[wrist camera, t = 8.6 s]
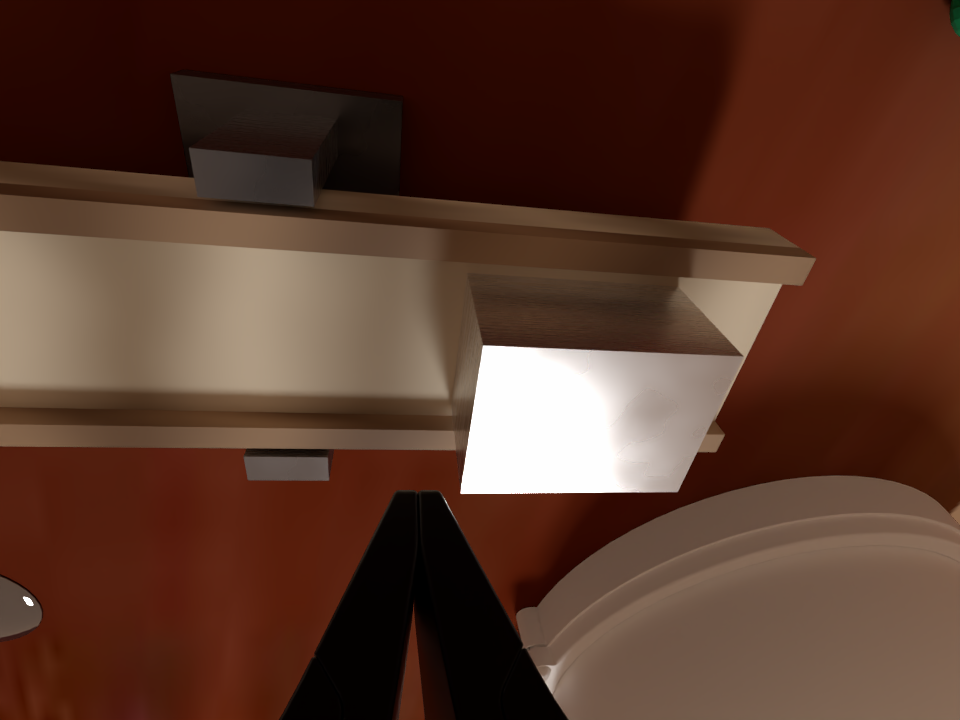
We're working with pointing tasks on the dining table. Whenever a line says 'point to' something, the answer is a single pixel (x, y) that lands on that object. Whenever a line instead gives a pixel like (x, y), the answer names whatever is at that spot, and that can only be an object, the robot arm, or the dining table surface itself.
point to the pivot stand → (286, 169)
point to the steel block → (583, 385)
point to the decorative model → (955, 16)
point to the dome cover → (763, 610)
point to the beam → (299, 306)
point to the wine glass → (17, 610)
